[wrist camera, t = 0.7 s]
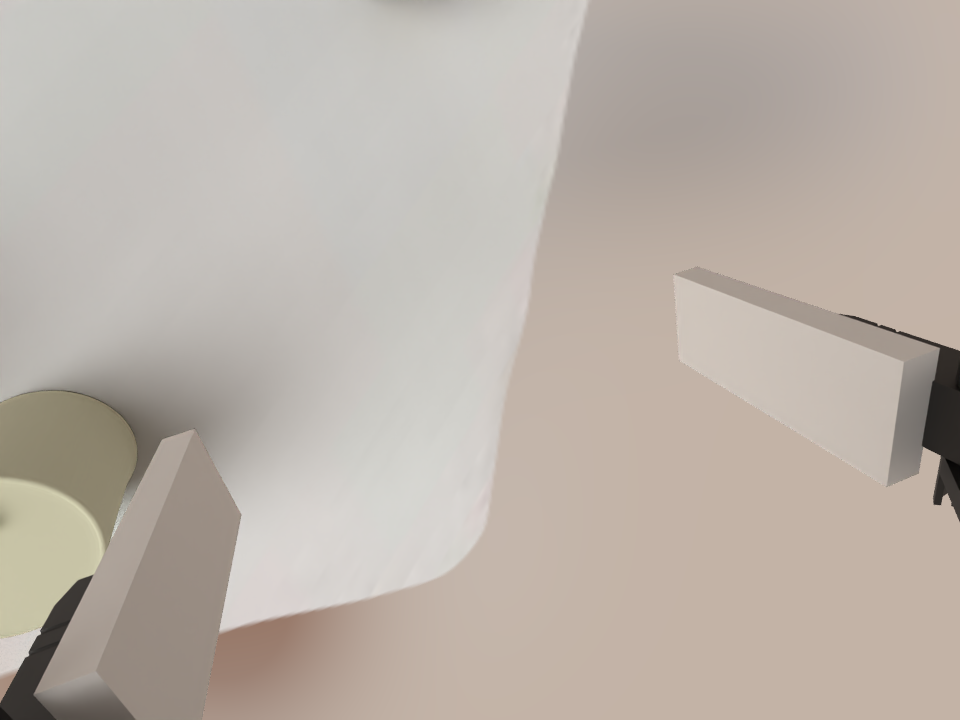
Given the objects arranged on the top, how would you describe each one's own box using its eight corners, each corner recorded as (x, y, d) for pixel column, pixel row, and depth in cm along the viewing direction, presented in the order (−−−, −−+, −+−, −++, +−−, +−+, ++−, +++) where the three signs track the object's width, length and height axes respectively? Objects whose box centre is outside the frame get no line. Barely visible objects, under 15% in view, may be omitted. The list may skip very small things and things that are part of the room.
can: (113, 375, 36) (69, 456, 25) (154, 491, 39) (130, 605, 29) (-63, 410, 32) (-195, 520, 22) (-1, 534, 36) (-92, 680, 25)
